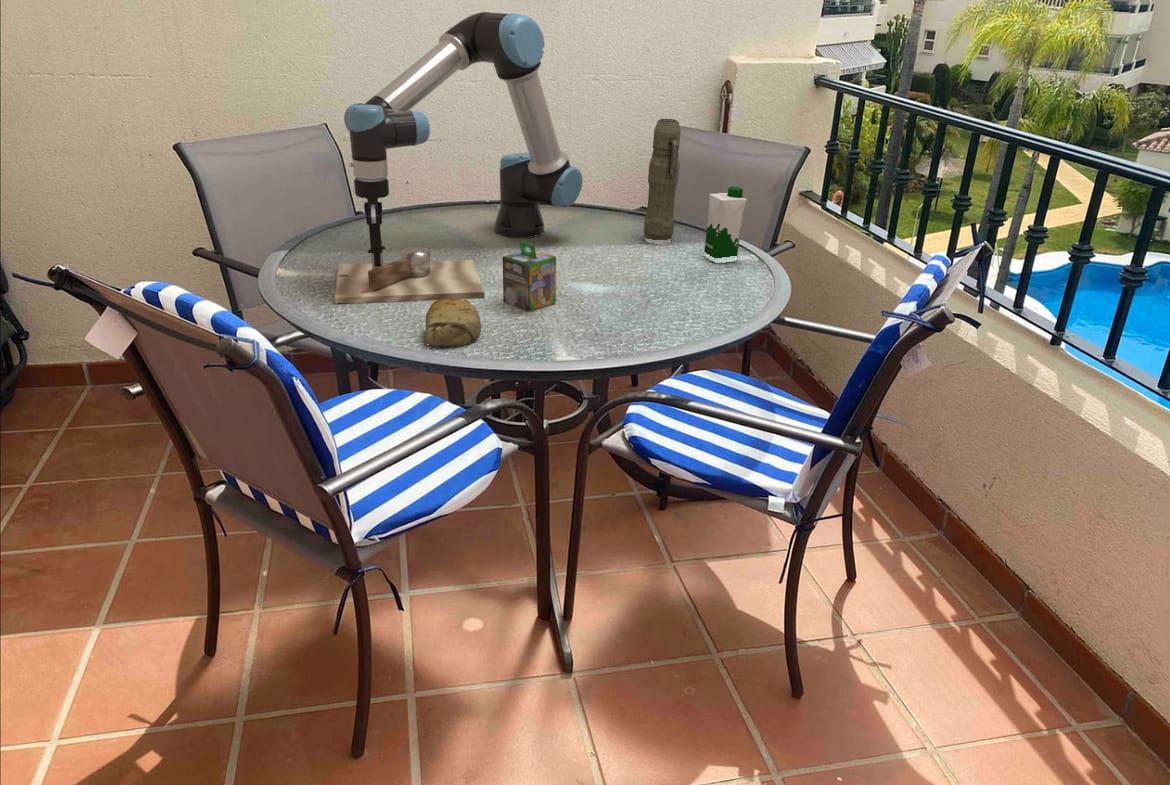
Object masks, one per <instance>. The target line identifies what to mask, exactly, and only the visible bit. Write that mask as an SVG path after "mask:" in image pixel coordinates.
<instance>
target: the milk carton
mask: <svg viewBox="0 0 1170 785" xmlns="http://www.w3.org/2000/svg"><path fill="white" fill-rule="evenodd" d="M743 193H744V188H742V187H739V186H730V187H728V188H727V192H725V193H724V192H718V193H709V194H708V199H709V200H708V203H709V204H708V216H707V224H706V225H707V226H706V233H705V240H704V249H703V251H704V252H706V253H707V254H709V255H710V256H712V257H714V258H722V257H730V256H737V255H739V246H740V237H741V236H740V235H741V230H742V222H743V221H742V220H743V215H744V211H745V207H746V204H747V202H748V199H747V198H746V197H744V196H743ZM704 252H703V253H704ZM737 257H738V256H737Z"/></svg>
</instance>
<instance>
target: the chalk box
mask: <svg viewBox="0 0 1170 785" xmlns="http://www.w3.org/2000/svg"><path fill="white" fill-rule="evenodd" d="M518 242H519V249H520V250H519V251H516V252H515V251H514V252H512V253H509V254H506V255H503V256H502V296H503V299H502V300H503V303H505V304H508V305H511V306H513V307H516V308H518V309H520V310H523V311H526V312H527V313H531V312H533V311H535V310H538V309H541V308H544V307H546V306H550V305H552V304H555V303H557V280H556V279H557V274H556V273H557V256H556V255H552V254H550V253H546V252H542V251H538V250H536V248H535V245H534V243H533V244H532V243H529V242H526V241H523V240H519V241H518ZM526 248H529V249H526ZM530 311H531V312H530Z"/></svg>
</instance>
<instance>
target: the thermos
mask: <svg viewBox="0 0 1170 785" xmlns="http://www.w3.org/2000/svg"><path fill="white" fill-rule="evenodd" d="M681 133H682V132H681V126H680V121H677V120H676V119H675V118H674V119H673V118H660V120H657V122H656V124H655V127H654V130H653V138H652V140H653V141H652V148H653V149H652V153H651V154H652V155H651V158H650V161H649V165H648V177H647V182H648V195H647V196H648V197H647V208H646V209H647V210H646V215H645V217H644V225H643V236H644V237H645V238H647V239H652V240H668V239H671V238H672V239H673V236H674V228H675V216H674V210H675V200H676V191H677V190H676V189H677V185H678V183H679V177H680V176H679V174H680V164H681V163H680V160H679V149H680V142H681V141H680V140H681ZM644 237H643V238H644Z"/></svg>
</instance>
